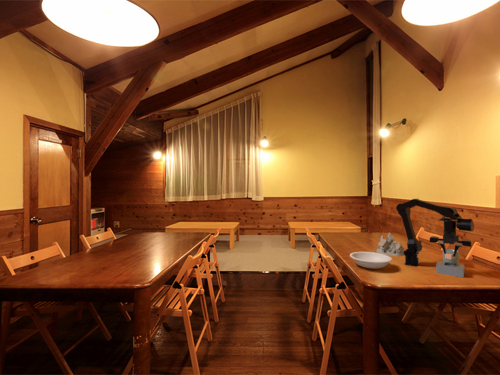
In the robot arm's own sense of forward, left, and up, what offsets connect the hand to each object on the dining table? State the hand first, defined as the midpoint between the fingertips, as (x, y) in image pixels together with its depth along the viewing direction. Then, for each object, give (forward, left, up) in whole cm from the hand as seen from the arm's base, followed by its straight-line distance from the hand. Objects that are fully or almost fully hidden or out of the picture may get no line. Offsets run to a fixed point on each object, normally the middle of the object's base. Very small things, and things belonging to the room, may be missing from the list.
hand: (450, 256), depth 146 cm
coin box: (0, 0, -10) cm, 10 cm away
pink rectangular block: (0, 0, -1) cm, 1 cm away
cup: (-1, +15, -10) cm, 18 cm away
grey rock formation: (-38, +25, -10) cm, 47 cm away
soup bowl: (-38, -18, -10) cm, 43 cm away
